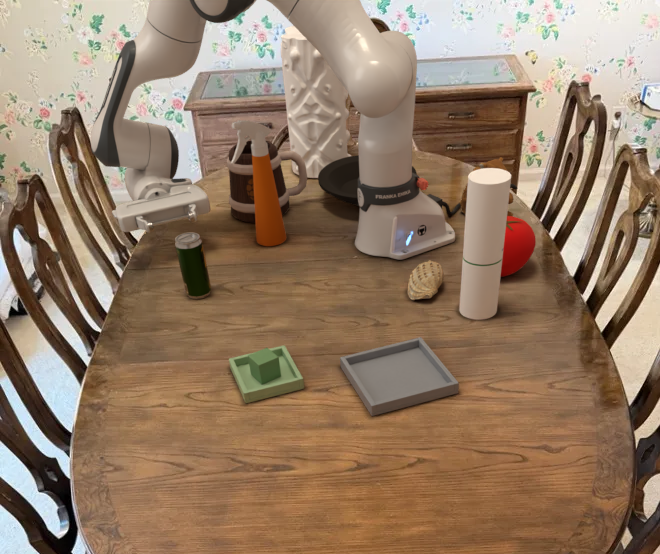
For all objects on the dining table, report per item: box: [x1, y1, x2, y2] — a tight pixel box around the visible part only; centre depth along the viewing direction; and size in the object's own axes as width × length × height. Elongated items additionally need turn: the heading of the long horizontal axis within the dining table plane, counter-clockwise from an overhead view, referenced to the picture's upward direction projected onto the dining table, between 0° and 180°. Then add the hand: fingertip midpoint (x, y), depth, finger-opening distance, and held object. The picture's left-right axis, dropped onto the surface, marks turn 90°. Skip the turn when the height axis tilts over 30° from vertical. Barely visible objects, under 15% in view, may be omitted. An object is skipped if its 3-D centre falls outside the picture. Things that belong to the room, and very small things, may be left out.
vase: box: [280, 25, 352, 179], centre depth 185 cm, size 17×16×32 cm
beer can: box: [174, 231, 212, 300], centre depth 147 cm, size 5×5×12 cm
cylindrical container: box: [458, 168, 512, 321], centre depth 130 cm, size 7×7×25 cm
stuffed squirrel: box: [458, 157, 514, 217], centre depth 163 cm, size 10×14×13 cm
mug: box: [226, 139, 308, 224], centre depth 173 cm, size 20×15×15 cm
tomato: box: [500, 215, 537, 278], centre depth 146 cm, size 14×13×10 cm
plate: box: [317, 154, 418, 207], centre depth 178 cm, size 28×24×6 cm
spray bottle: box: [231, 119, 287, 247], centre depth 157 cm, size 7×11×26 cm, turn 127°
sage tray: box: [228, 344, 305, 404], centre depth 127 cm, size 11×12×2 cm
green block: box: [248, 347, 281, 384], centre depth 126 cm, size 4×4×4 cm
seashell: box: [407, 259, 445, 301], centre depth 144 cm, size 8×6×10 cm
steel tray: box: [339, 336, 460, 417], centre depth 124 cm, size 16×16×2 cm
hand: (171, 223), depth 152 cm, fingers open, 8 cm apart
